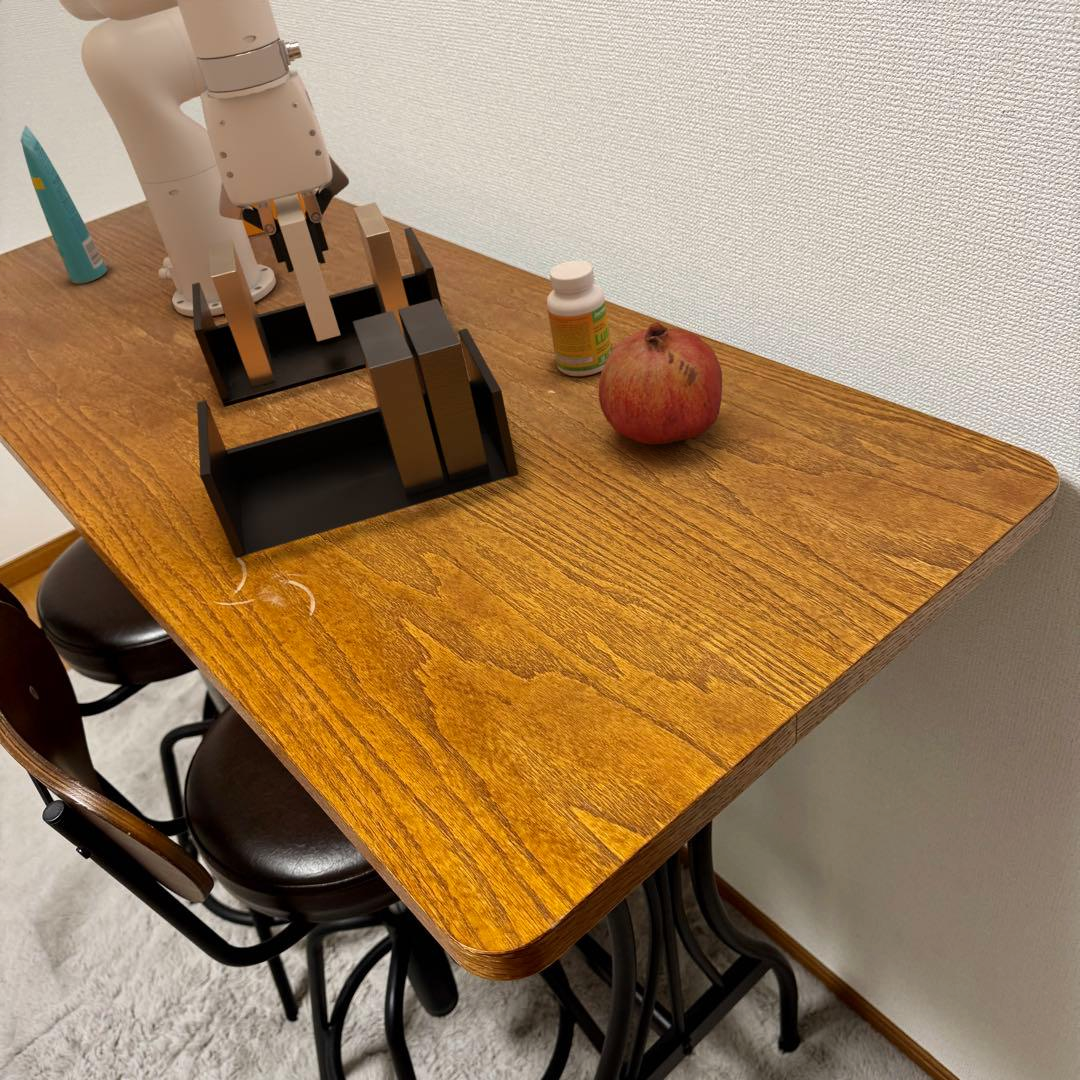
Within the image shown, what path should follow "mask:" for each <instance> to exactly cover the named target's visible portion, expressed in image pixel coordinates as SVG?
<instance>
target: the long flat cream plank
mask: <svg viewBox="0 0 1080 1080" xmlns="http://www.w3.org/2000/svg"><path fill="white" fill-rule="evenodd" d="M274 204H275V208H276V212H277V216H278V220H279V224H280V228H281V231H282V234H283V237H284V240H285V243H286V246H287V249H288V253H289V256H290V259H291V262H292V265H293V268H294V270H293V272H294V274H295V277H296V280H297V284H298V287H299V290H300V293H301V295H302V299H303V301H304V302H305V305H306V308H307V311H308V314H309V317H310V321H311V324H312V327H313V330H314V333H315V336H316V339H317V341H321V340H325V339H328V338H332V337H336V336H339V335H340V331H339V328H338V325H337V322H336V318H335V315H334V312H333V309H332V305H331V302H330V299H329V296H330V295H329V292H328V290H327V289H328V288H327V286H326V283H325V279H324V277H323V274H322V270H321V267H320V263H318V260H317V256H316V253H315V250H314V247H313V243H312V240H311V237H310V234H309V230H308V227H307V224H306V221H305V218H304V214H303V211H302V208H301V205H300V202H299V199H298V195H297V194H295V195H291V196H287V197H283V198H280V199H276V200H274ZM304 302H303V303H304Z"/></svg>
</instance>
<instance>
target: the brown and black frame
mask: <svg viewBox="0 0 1080 1080" xmlns="http://www.w3.org/2000/svg"><path fill="white" fill-rule="evenodd" d="M353 212H354V216H355V219H356V224H357V227H358V232H359V234H360V238H361V242H362V247H363V249H364V253H365V258H366V260H367V265H368V268H369V271H370V276H371V278H372V284H367V285H364V286H360V287H357V288H352V289H349V290H345V291H342V292H337V293H333V294H330V295H328V296H329V299H330V302H331V305H332V309H333V312H334V315H335V318H336V322H337V325H338V328H339V331H340V335H339V336H336V337H332V338H328V339H325V340H321V341H317V339H316V336H315V333H314V330H313V327H312V324H311V321H310V317H309V314H308V311H307V308H306V305H305V302H300V303H297V304H293V305H290V306H285V307H281V308H278V309H277V308H276V309H273V310H271V311H267V312H266V311H265V312H262V313H258V309H257V306H256V304H255V303H254V301H253V298H252V295H251V292H250V289H249V287H248V284H247V281H246V278H245V275H244V272H243V269H242V267H241V264H240V261H239V258H238V255H237V252H236V250H235V247H234V244H233V241H232V239H230V240H226V241H222V242H218V243H214V244H210V245H209V257H210V269H211V278H212V281H213V284H214V286H215V289H216V292H217V295H218V297H219V300H220V303H221V305H222V308H223V311H224V313H225V314H224V316H225V319H226V321H227V322H225V323H222V324H218V325H216V321H215V320H214V316H212V314H211V312H210V309H209V306H208V304H207V301H206V298H205V296H204V293H203V291H202V288H201V285H200V283H199V282H198V283H195V284H192V298H193V317H192V319H193V320H192V321H193V332H194V335H195V338H196V340H197V342H198V345H199V347H200V350H201V352H202V355H203V358H204V360H205V362H206V365H207V367H208V371H209V373H210V375H211V377H212V380H213V383H214V385H215V388H216V390H217V394H218V395H219V398H220V401H221V403H222V406H223V407H224V408H227V407H229V406H233V405H238V404H241V403H245V402H248V401H251V400H256V399H259V398H263V397H266V396H270V395H273V394H277V393H280V392H285V391H288V390H292V389H296V388H299V387H302V386H303V387H304V386H307V385H310V384H314V383H317V382H321V381H325V380H328V379H331V378H335V377H339V376H342V375H343V376H344V375H346V374H350V373H353V372H357V371H360V370H363V369H367V368H366V365H365V362H364V358H363V355H362V351H361V348H360V344H359V341H358V337H357V334H356V331H355V327H354V324H353V321H356V320H360V319H364V318H368V317H371V316H375V315H379V314H382V313H386V312H390V311H393V312H394V314H395V317H396V319H397V321H398V324H399V326H400V328H401V331H402V333H403V335H404V332H403V328H402V324H401V320H400V316H399V312H398V309H401V308H405V307H408V306H412V305H416V304H420V303H423V302H427V301H431V300H434V299H438V301H439V303H440V305H441V307H442V309H443V310H444V308H443V303H442V299H441V295H440V290H439V286H438V282H437V278H436V277H437V276H436V272H435V269H434V266H433V264H432V262H431V260H430V259H429V257H428V255H427V253H426V251H425V250H424V248H423V246H422V244H421V243H420V241H419V239H418V237H417V234H415V231H414V229H413V228H412V227H407V228H404V230H403V231H404V235H405V239H406V243H407V247H408V252H409V257H410V259H411V263H412V267H413V273H410V274H405V275H402V272H401V268H400V264H399V261H398V257H397V253H396V248H395V244H394V241H393V237H392V232H391V230H390V228H389V226H388V224H387V222H386V220H385V218H384V216H383V214H382V212H381V210H380V208H379V206H378V204H377V202H372V203H366V204H364V205H359V206H356V207H353ZM404 338H405V335H404ZM405 340H406V339H405Z"/></svg>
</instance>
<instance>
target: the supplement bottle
mask: <svg viewBox="0 0 1080 1080" xmlns="http://www.w3.org/2000/svg"><path fill="white" fill-rule="evenodd" d="M549 281H550V286H551V288H552V290H551V291H550V292H549V294H548V296H547V298H546V308H547V314H548V320H549V326H550V327H549V328H550V332H551V333H550V334H551V339H552V344H553V345H552V346H553V351H554V358H555V362H556V363H555V364H556V367H557V369H558V370H559V371H560V372H561V373H562V374H564V375H567V376H570V377H586V376H591V375H594V374H598V373H600V372H602V369H603V367H604V365H605V363H606V361H607V359H608V357H609V354H610V353H611V351H612V345H611V336H610V329H609V322H608V312H607V305H606V298H605V293H604V290H603V289H602V288H601V286H599V285H598V284H596V283H595V273H594V267H593V265H592V264H591V263H590V262H588V261H585V260H569V261H565V262H561V263H559V264H556V265H555V266H552V268H551V269H550V270H549Z"/></svg>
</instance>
